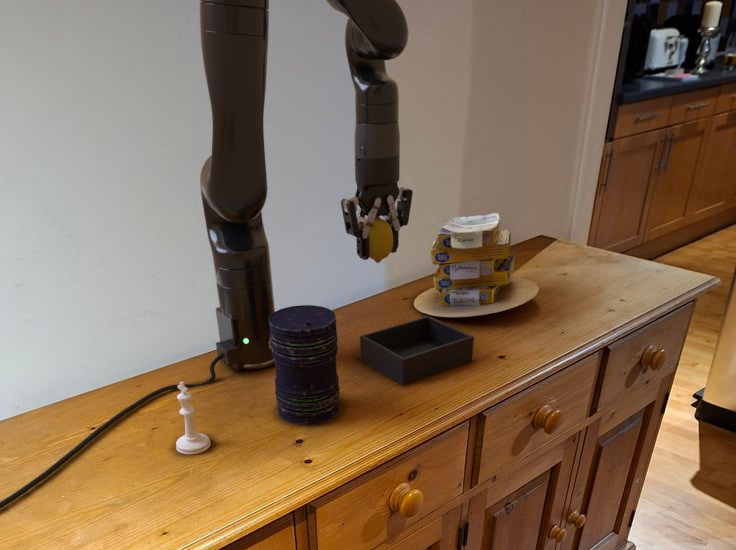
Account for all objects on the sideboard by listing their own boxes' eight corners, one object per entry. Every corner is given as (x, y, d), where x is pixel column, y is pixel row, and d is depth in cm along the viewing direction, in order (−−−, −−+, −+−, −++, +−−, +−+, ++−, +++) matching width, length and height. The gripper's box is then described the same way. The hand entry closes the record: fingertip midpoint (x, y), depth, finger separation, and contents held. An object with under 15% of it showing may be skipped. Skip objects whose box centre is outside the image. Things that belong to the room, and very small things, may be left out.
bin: (402, 385, 116) (403, 359, 113) (360, 360, 124) (359, 335, 121) (472, 361, 122) (474, 336, 120) (427, 339, 130) (428, 315, 128)
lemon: (390, 268, 125) (390, 221, 120) (360, 267, 126) (359, 220, 121) (395, 258, 129) (395, 212, 125) (365, 257, 130) (365, 212, 126)
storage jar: (269, 402, 112) (260, 310, 103) (328, 390, 115) (323, 300, 106) (287, 431, 104) (278, 335, 95) (349, 418, 107) (346, 324, 98)
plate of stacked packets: (393, 315, 140) (394, 228, 130) (441, 277, 158) (445, 198, 148) (513, 335, 131) (524, 243, 121) (550, 293, 148) (562, 209, 138)
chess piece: (195, 433, 105) (184, 371, 99) (217, 443, 102) (207, 380, 96) (169, 447, 102) (155, 384, 96) (191, 458, 99) (179, 394, 93)
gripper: (397, 143, 123) (396, 243, 133) (328, 154, 116) (333, 258, 126) (425, 149, 118) (421, 252, 128) (354, 160, 111) (356, 268, 121)
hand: (377, 254), depth 127 cm, fingers closed on lemon, 5 cm apart
